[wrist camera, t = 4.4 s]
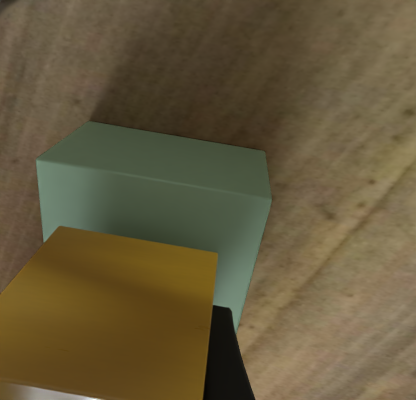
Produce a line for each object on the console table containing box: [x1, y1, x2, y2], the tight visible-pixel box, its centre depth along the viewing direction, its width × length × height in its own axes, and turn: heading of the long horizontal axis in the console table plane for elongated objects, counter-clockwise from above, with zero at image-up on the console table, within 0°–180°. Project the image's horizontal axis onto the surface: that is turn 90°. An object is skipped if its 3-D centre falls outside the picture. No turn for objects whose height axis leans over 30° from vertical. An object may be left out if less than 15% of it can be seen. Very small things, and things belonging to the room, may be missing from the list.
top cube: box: [0, 226, 218, 400], centre depth 9 cm, size 4×4×4 cm
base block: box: [36, 121, 272, 333], centre depth 14 cm, size 7×7×4 cm
